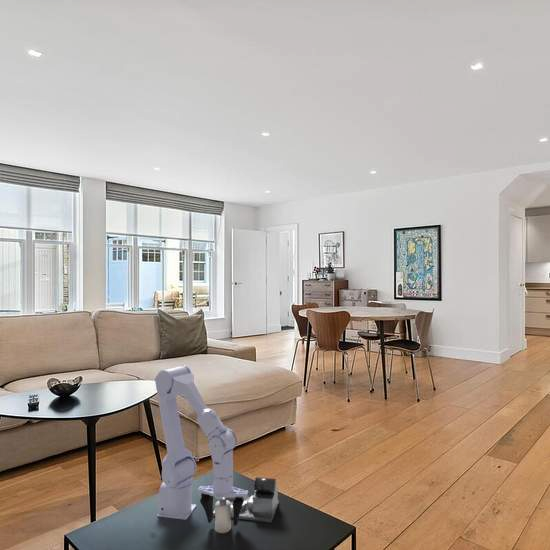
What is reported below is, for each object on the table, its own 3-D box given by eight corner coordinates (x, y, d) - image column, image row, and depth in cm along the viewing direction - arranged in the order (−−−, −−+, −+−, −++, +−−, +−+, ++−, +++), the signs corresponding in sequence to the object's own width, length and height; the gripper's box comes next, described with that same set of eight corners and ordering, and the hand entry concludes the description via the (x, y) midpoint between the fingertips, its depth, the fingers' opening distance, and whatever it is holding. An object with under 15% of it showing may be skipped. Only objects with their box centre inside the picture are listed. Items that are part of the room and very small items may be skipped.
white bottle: (212, 532, 120) (212, 503, 120) (218, 523, 124) (218, 495, 124) (228, 533, 119) (228, 505, 119) (232, 524, 123) (232, 497, 124)
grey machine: (212, 515, 128) (212, 482, 128) (224, 497, 139) (224, 466, 139) (271, 522, 125) (271, 488, 125) (278, 503, 135) (278, 471, 135)
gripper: (193, 478, 119) (193, 527, 119) (243, 483, 116) (243, 533, 116) (202, 467, 126) (203, 513, 126) (250, 471, 123) (250, 518, 123)
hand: (223, 522), depth 122 cm, fingers open, 7 cm apart
